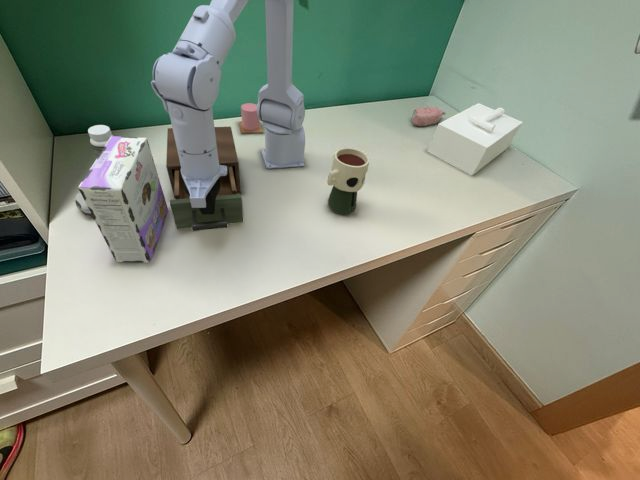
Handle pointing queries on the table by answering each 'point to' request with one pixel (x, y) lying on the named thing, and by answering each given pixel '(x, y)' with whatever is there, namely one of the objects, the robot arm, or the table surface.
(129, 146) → the candy box
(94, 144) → the pill bottle
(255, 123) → the pink short cylinder
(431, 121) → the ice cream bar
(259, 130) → the cork mat
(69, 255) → the table surface
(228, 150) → the cabinet
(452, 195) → the table surface
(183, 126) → the robot arm
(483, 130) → the white slanted box
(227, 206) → the drawer
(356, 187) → the character mug
